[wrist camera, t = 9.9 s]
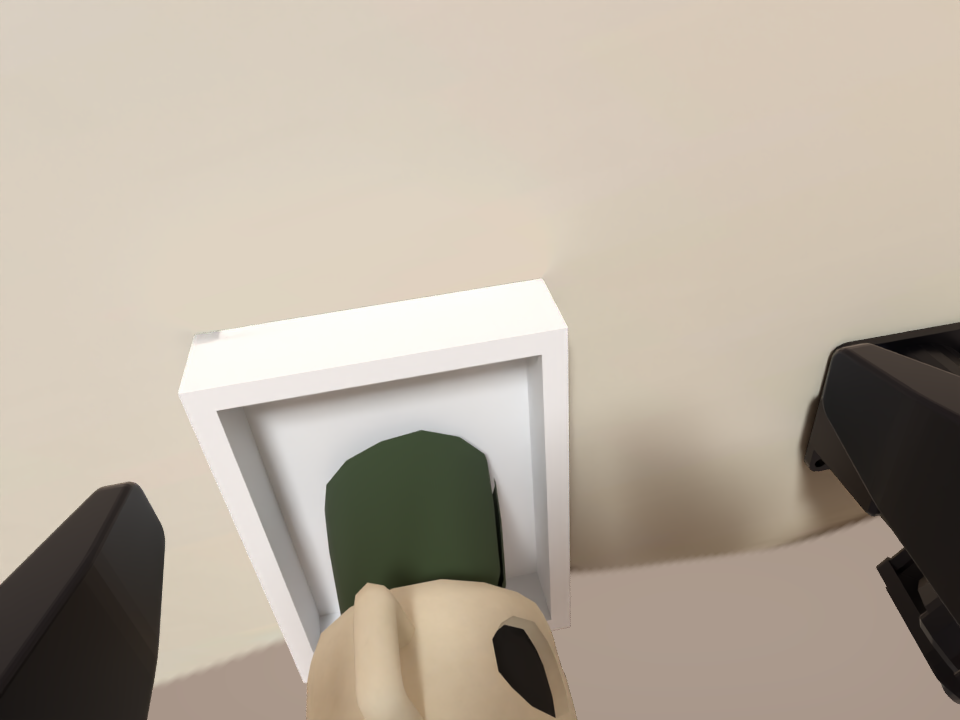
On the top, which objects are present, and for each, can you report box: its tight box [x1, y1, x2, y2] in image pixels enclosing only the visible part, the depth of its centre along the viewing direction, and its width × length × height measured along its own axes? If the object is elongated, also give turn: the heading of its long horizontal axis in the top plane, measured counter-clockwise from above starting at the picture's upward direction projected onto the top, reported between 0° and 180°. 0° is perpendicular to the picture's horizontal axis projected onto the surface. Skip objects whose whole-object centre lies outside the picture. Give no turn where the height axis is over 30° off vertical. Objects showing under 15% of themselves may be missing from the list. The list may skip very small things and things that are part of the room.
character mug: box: [306, 430, 577, 720], centre depth 21 cm, size 11×7×13 cm, turn 17°
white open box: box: [178, 278, 570, 683], centre depth 25 cm, size 11×15×3 cm
